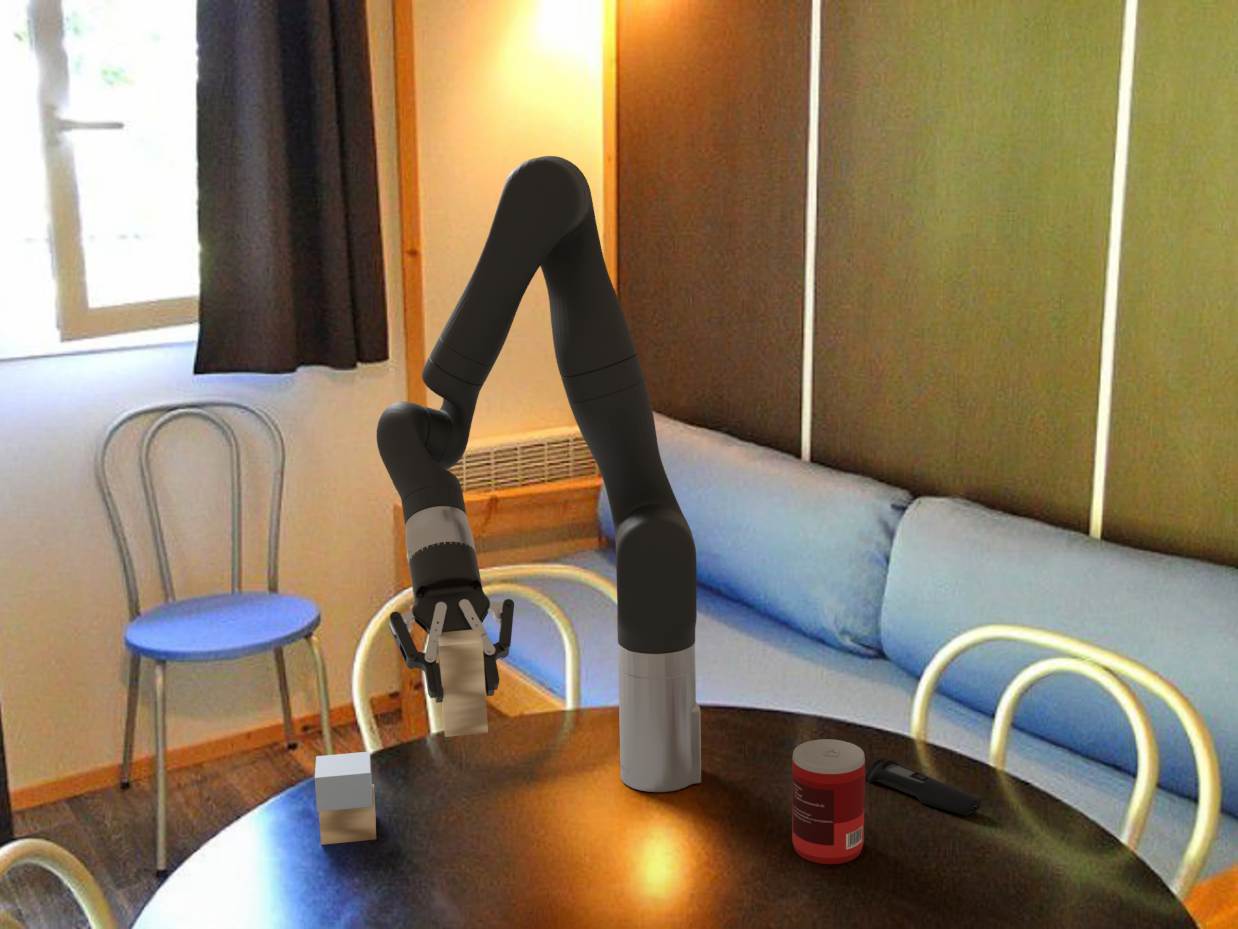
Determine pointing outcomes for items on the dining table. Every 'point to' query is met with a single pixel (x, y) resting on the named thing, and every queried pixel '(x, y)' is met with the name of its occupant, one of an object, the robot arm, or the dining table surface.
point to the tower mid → (343, 781)
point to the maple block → (462, 682)
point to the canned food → (828, 801)
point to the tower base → (348, 824)
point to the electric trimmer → (922, 787)
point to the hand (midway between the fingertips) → (465, 695)
